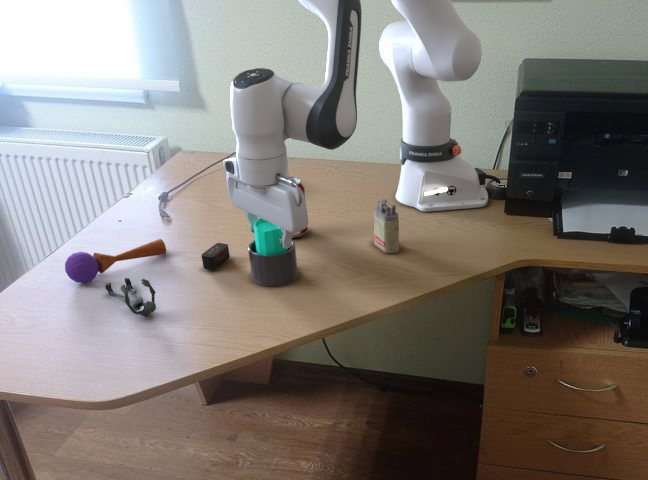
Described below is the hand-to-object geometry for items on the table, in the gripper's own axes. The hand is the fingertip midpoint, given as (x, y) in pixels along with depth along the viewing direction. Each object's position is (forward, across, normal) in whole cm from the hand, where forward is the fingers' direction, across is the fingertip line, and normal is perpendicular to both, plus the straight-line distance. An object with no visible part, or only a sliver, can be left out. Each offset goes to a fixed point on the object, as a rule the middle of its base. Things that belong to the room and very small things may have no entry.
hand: (271, 239), depth 127 cm
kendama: (+8, +25, +20) cm, 33 cm away
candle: (+7, 0, 0) cm, 7 cm away
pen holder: (+8, 0, 0) cm, 8 cm away
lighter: (+8, -6, -25) cm, 27 cm away
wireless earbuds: (+8, +13, +5) cm, 16 cm away
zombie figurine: (+8, +8, +26) cm, 28 cm away
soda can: (+8, +13, -15) cm, 22 cm away
